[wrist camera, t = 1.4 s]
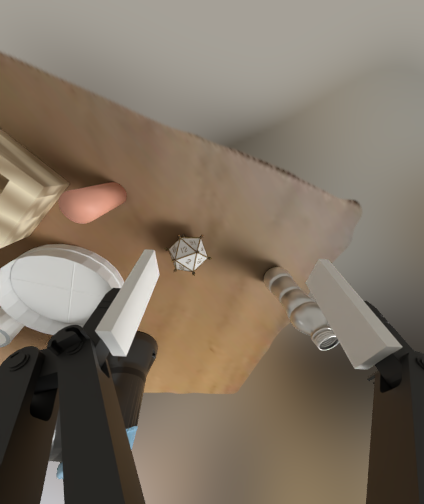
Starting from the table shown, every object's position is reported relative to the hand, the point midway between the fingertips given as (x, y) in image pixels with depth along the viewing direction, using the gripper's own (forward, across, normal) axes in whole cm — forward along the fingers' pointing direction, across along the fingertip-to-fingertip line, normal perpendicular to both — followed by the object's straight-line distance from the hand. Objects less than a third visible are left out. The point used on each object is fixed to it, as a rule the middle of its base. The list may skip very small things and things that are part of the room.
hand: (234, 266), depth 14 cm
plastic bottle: (+23, -15, +22) cm, 35 cm away
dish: (+15, +33, +22) cm, 43 cm away
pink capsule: (+20, +20, +1) cm, 29 cm away
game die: (+21, +7, +12) cm, 25 cm away
